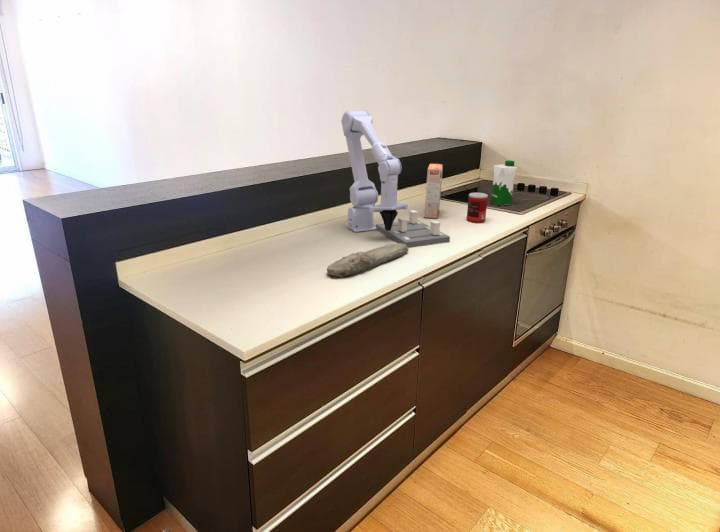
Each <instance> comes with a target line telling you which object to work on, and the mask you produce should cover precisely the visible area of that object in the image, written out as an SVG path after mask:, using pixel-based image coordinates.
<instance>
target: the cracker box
mask: <svg viewBox="0 0 720 532" xmlns="http://www.w3.org/2000/svg"><path fill="white" fill-rule="evenodd" d="M442 181H443V164H441V163H429V165H428V167H427V174H426V186H425V188H426V189H425V203H424V216H423V217H424V219H434V220H435V219H438V217H439V212H440V204H441V192H442Z"/></svg>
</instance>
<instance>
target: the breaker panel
mask: <svg viewBox="0 0 720 532" xmlns="http://www.w3.org/2000/svg"><path fill="white" fill-rule="evenodd" d="M375 227H376V228H377V230H376V231H378V232H380V233H381V234H383V235H385V236H386V237H388V238H389V239H390V240H392V241H394V242H395V243H396V244H398V243H401V244H405V245H407V247H408V249H409V248H415V247H423V246H429V245H437V244H445V243H450V241H451V240H450V239H451V236H450V235H448V234H445V233H444V232H442V231H440V230H439V235H433V234H431V233H430V227H431V225H428V224H426V223H424V222H422V221H420V220H419V219H417V223H414V224H412V223H411V222H409V220H407V231H404V232H401V231H400V230H398V221H394V222H393V224H392V228H391V231H387V230H385V226H384V223H378V224H375Z"/></svg>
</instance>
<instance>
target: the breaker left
mask: <svg viewBox="0 0 720 532" xmlns="http://www.w3.org/2000/svg"><path fill="white" fill-rule="evenodd" d="M408 213H409V214H408V221H409V222H411V223H412V224H414V223H417V220H418V214H419V211H417V210H414V209H412V210H409V211H408Z"/></svg>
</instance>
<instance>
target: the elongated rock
mask: <svg viewBox="0 0 720 532" xmlns="http://www.w3.org/2000/svg"><path fill="white" fill-rule="evenodd" d="M407 252H409V248H408V247H407V245H405V244H401V243H389V244H385V245H383V246H379V247H375V248H372V249H370V250H367V251H358V252H355V253H351V254H348V255H346V256H344V257H341V259H339V260H336V261H334V262H333V263H331V264H329V265H328V266H327V269H326V272H327V275H329V276H333V277H339V278H342V277H346V276H352V275H357V274H359V273H365V272H366V271H369V269H371V268H374V267H377V266H378V265H379V264H381V263H387V262H389V261H391V260H394V259H398V258H400V257H402V256H403V255H406V254H407Z"/></svg>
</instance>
